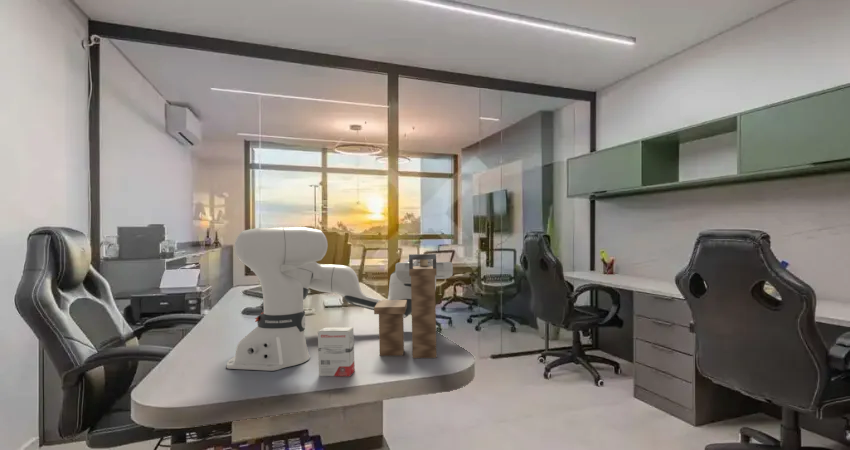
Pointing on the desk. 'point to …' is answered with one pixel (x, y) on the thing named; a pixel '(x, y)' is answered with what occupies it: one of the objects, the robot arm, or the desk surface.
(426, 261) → the handle
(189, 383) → the desk surface
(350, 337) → the ink box
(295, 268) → the robot arm
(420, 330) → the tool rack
